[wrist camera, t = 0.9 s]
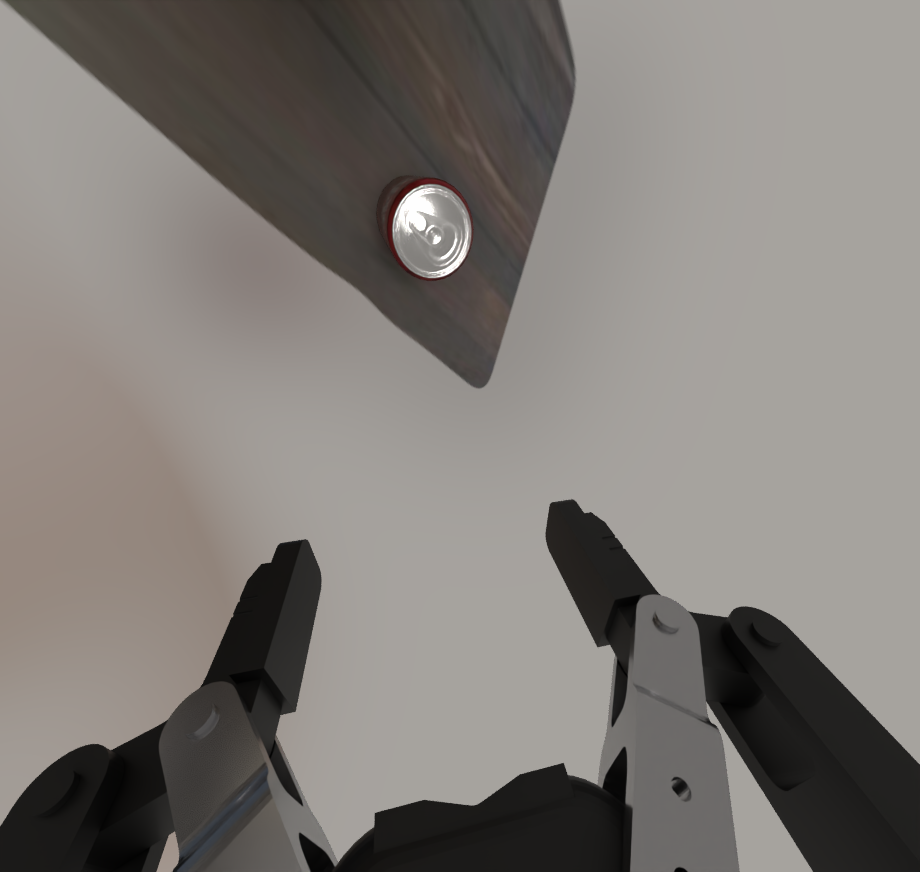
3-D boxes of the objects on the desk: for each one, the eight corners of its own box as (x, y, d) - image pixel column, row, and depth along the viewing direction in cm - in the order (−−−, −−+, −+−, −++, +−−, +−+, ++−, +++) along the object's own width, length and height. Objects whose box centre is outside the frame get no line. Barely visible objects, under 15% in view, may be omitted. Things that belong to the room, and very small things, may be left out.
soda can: (456, 214, 36) (492, 229, 27) (416, 269, 39) (438, 300, 30) (403, 155, 32) (426, 150, 23) (362, 222, 34) (369, 241, 25)
